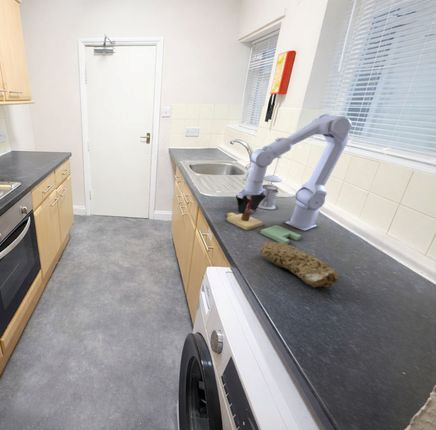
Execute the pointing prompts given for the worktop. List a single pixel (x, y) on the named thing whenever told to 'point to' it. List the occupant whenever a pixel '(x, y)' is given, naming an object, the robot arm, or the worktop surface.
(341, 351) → the worktop surface
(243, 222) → the pad
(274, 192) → the french press
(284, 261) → the sponge
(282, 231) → the pad
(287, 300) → the worktop surface
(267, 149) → the robot arm
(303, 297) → the worktop surface
